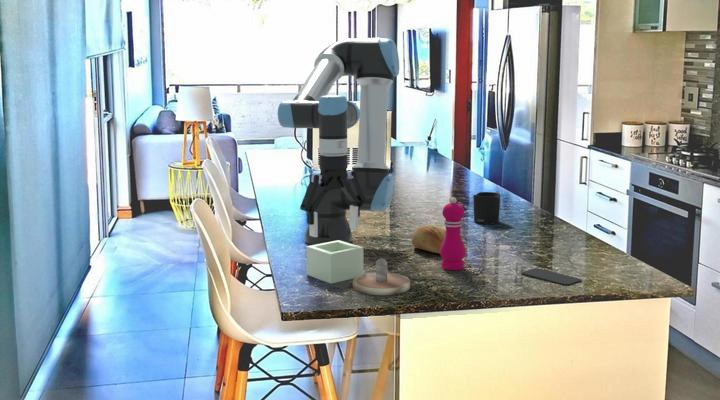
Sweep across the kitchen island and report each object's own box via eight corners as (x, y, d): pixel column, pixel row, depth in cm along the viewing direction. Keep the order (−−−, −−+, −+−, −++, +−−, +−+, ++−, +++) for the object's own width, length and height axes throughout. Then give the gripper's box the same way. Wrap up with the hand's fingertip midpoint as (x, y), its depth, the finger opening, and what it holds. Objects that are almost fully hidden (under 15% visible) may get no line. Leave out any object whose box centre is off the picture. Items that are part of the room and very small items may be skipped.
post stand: (384, 275, 215) (384, 248, 214) (422, 287, 203) (422, 259, 202) (340, 285, 206) (340, 257, 204) (377, 299, 194) (377, 269, 193)
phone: (567, 284, 203) (519, 272, 214) (567, 288, 204) (519, 275, 214) (583, 279, 208) (535, 267, 219) (583, 282, 209) (535, 270, 219)
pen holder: (468, 220, 282) (468, 192, 280) (492, 218, 285) (492, 191, 283) (480, 225, 273) (480, 197, 272) (504, 223, 276) (505, 195, 274)
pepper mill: (463, 263, 226) (464, 194, 222) (467, 270, 218) (468, 199, 215) (438, 264, 225) (438, 195, 222) (441, 271, 218) (442, 200, 214)
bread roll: (436, 259, 231) (436, 232, 230) (403, 249, 243) (403, 223, 241) (460, 253, 237) (460, 227, 235) (426, 244, 249) (426, 219, 247)
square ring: (339, 267, 223) (338, 240, 221) (363, 276, 214) (363, 247, 213) (307, 274, 216) (306, 246, 214) (331, 283, 208) (330, 254, 206)
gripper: (302, 159, 198) (303, 241, 202) (378, 152, 214) (378, 228, 217) (286, 156, 204) (287, 236, 208) (361, 149, 219) (361, 224, 223)
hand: (334, 232), depth 212 cm, fingers open, 13 cm apart
